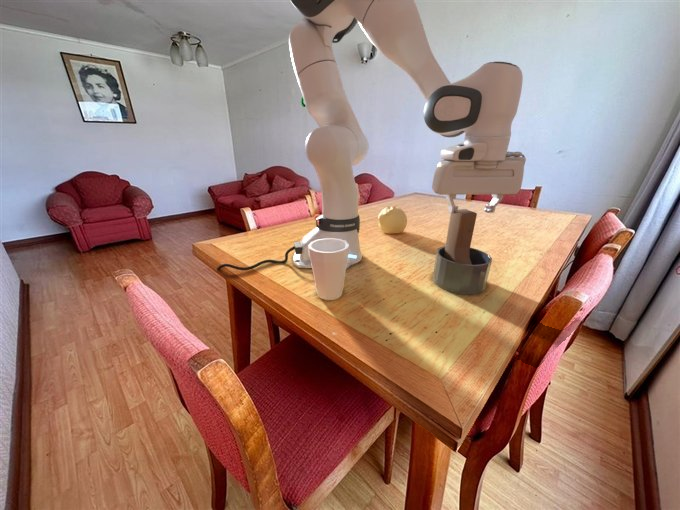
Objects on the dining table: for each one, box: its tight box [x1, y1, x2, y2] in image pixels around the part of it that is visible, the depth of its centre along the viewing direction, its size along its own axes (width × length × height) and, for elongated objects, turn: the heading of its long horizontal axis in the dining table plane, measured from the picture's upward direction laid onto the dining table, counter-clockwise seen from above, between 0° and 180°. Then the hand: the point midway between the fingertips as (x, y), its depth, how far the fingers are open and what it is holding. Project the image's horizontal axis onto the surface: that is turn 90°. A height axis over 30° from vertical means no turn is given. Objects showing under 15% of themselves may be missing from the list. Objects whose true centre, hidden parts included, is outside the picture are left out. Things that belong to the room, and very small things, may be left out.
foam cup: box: [308, 238, 349, 301], centre depth 64 cm, size 10×9×13 cm
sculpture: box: [377, 205, 408, 234], centre depth 109 cm, size 11×12×11 cm
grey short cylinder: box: [432, 244, 493, 296], centre depth 71 cm, size 17×13×8 cm
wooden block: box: [444, 208, 478, 265], centre depth 68 cm, size 9×4×18 cm, turn 13°
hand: (470, 212), depth 64 cm, fingers open, 8 cm apart
